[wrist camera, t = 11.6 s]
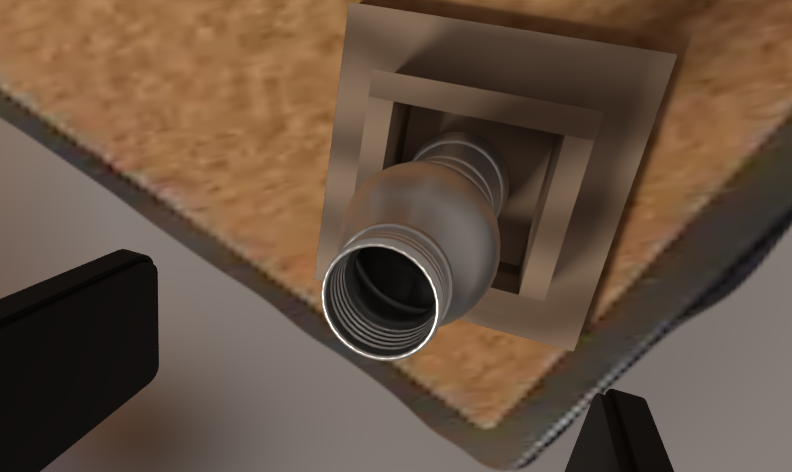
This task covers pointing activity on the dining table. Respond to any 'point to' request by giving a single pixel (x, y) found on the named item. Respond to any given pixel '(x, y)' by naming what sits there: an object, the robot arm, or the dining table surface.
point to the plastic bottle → (417, 247)
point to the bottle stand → (503, 145)
